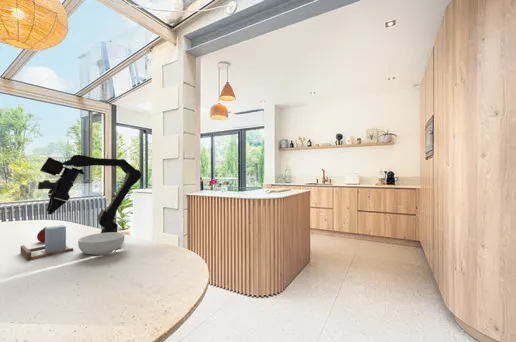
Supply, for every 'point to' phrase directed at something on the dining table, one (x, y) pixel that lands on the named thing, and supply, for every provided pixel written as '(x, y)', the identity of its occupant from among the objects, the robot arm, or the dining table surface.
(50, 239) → the blue block
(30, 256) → the box
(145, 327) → the dining table surface
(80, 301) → the dining table surface
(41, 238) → the onion
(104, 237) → the cereal bowl
